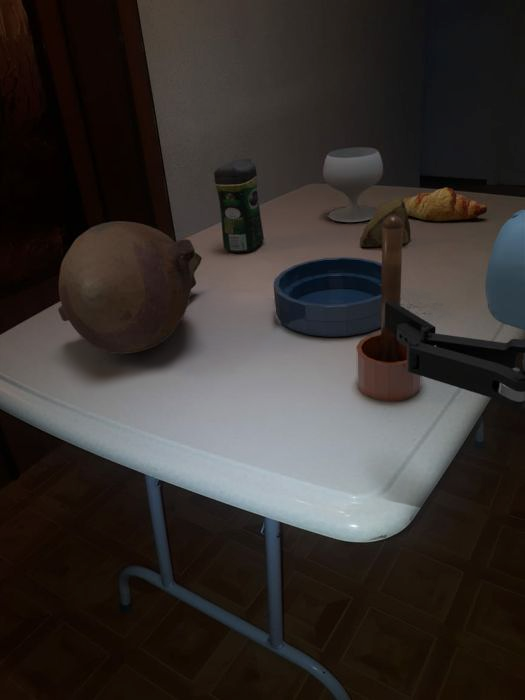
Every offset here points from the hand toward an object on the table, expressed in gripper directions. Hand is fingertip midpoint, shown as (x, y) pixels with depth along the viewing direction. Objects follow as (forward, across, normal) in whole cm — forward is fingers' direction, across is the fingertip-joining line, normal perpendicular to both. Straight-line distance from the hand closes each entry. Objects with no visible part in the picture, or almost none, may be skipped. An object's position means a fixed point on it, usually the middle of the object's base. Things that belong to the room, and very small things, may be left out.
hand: (445, 297), depth 56 cm
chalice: (+76, +35, -16) cm, 85 cm away
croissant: (+63, +50, -16) cm, 82 cm away
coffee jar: (+72, +4, -17) cm, 74 cm away
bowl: (+32, +5, -16) cm, 36 cm away
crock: (+10, 0, -16) cm, 19 cm away
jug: (+44, -23, -17) cm, 53 cm away
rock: (+55, +30, -16) cm, 65 cm away
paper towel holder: (+10, 0, -16) cm, 18 cm away
